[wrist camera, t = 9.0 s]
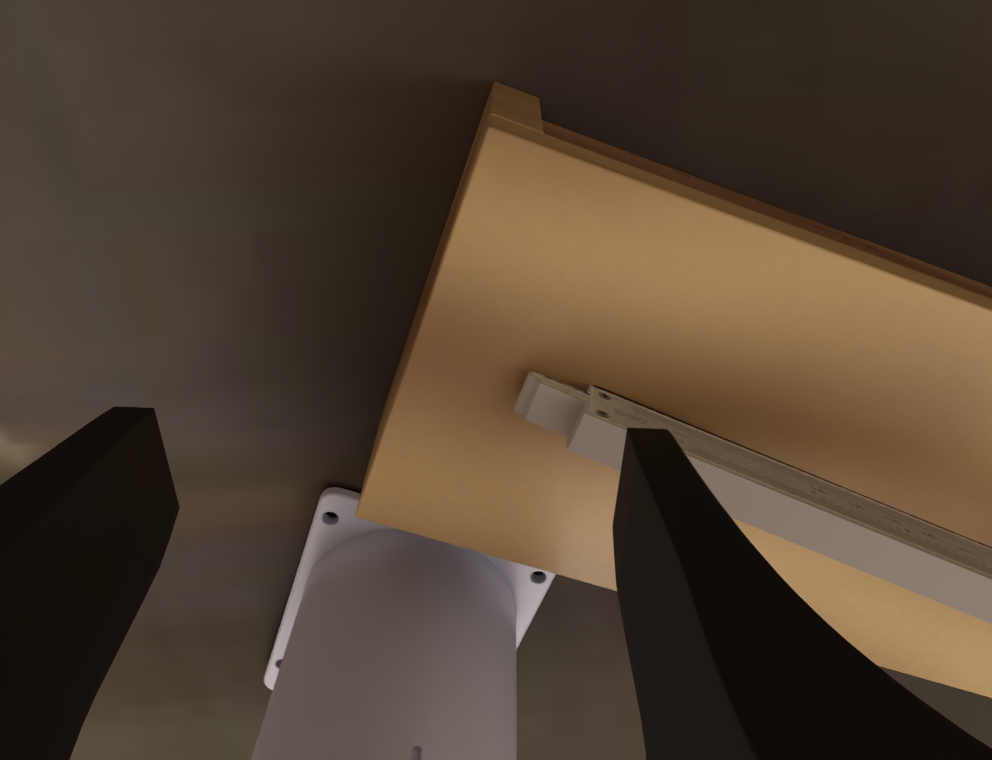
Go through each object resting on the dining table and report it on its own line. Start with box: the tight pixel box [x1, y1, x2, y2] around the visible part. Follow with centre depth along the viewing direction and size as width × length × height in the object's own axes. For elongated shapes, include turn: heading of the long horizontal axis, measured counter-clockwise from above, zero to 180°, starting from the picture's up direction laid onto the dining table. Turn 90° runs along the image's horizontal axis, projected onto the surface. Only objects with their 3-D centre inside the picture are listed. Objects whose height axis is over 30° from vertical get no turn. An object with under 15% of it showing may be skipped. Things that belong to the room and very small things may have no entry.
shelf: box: [355, 82, 992, 698], centre depth 22 cm, size 10×26×5 cm, turn 71°
